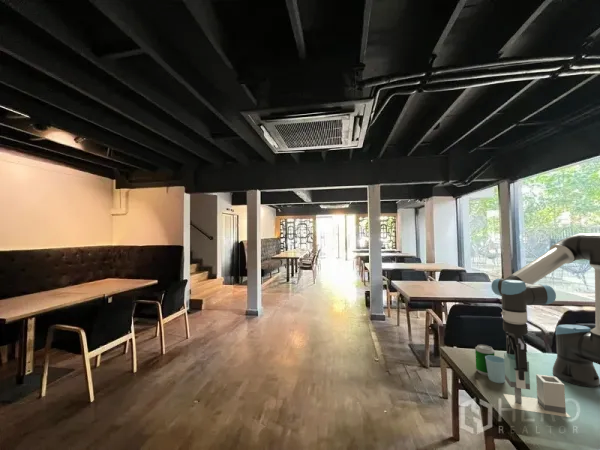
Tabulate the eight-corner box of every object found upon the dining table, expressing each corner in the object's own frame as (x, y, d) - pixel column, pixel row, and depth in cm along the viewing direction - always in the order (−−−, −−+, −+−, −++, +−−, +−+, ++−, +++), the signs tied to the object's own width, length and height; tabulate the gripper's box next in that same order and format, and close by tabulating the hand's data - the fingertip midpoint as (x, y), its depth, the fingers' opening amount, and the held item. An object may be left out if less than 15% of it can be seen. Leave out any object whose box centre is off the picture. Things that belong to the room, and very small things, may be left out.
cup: (508, 389, 119) (507, 364, 120) (486, 385, 123) (485, 360, 124) (506, 381, 126) (505, 357, 126) (485, 377, 130) (484, 354, 130)
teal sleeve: (523, 381, 110) (522, 355, 110) (530, 389, 104) (528, 361, 105) (505, 379, 112) (504, 353, 112) (510, 386, 106) (509, 359, 107)
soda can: (498, 377, 129) (497, 350, 130) (480, 376, 131) (479, 349, 131) (490, 369, 137) (489, 344, 137) (473, 368, 138) (472, 343, 139)
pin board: (556, 405, 108) (555, 385, 108) (571, 421, 99) (569, 399, 99) (503, 397, 114) (502, 378, 114) (512, 412, 104) (511, 391, 105)
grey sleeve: (557, 404, 106) (555, 376, 107) (565, 413, 101) (564, 384, 101) (537, 401, 108) (536, 374, 109) (544, 410, 103) (543, 382, 103)
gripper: (495, 314, 119) (497, 370, 118) (512, 328, 101) (514, 395, 100) (517, 315, 117) (519, 373, 116) (537, 330, 99) (541, 398, 98)
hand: (517, 383), depth 108 cm, fingers closed on teal sleeve, 6 cm apart
